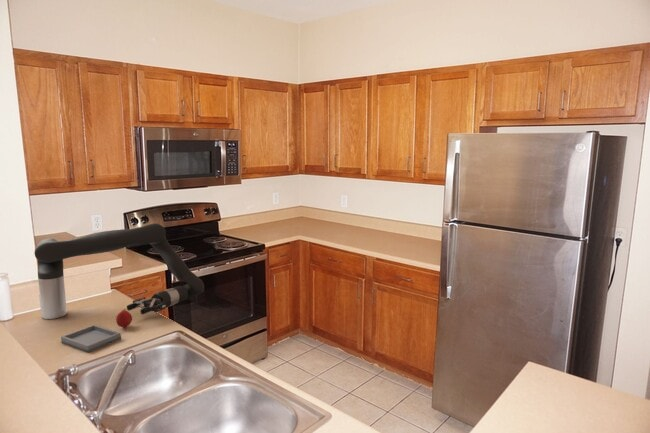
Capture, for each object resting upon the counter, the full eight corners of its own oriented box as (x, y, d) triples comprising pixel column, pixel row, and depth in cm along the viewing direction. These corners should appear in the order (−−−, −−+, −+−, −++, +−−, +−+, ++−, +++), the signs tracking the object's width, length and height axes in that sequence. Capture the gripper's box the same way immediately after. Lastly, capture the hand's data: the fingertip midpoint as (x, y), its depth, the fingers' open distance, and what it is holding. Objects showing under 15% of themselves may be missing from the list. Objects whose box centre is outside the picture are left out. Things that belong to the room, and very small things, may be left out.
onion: (126, 331, 171) (125, 312, 170) (113, 330, 173) (112, 311, 171) (135, 325, 177) (134, 307, 176) (122, 324, 178) (121, 305, 177)
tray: (61, 343, 161) (60, 336, 160) (94, 330, 172) (94, 324, 172) (88, 352, 153) (87, 346, 153) (121, 339, 164) (120, 332, 164)
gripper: (154, 287, 195) (122, 298, 181) (177, 293, 188) (145, 304, 174) (155, 304, 196) (123, 315, 182) (177, 309, 189) (146, 322, 175)
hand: (134, 310), depth 178 cm, fingers open, 8 cm apart
